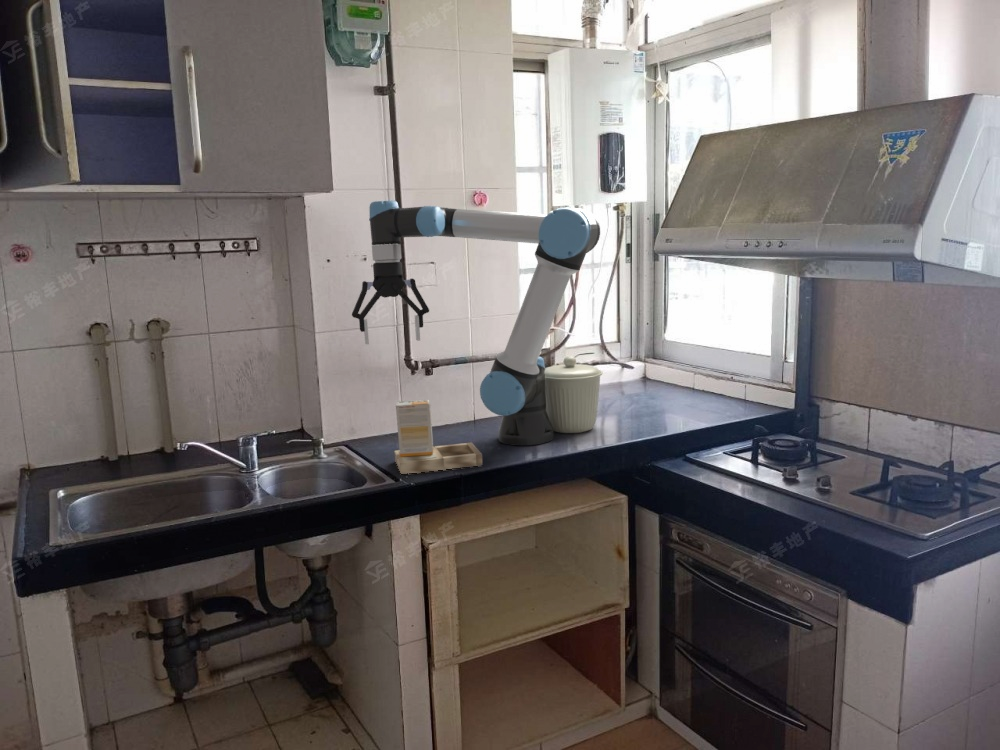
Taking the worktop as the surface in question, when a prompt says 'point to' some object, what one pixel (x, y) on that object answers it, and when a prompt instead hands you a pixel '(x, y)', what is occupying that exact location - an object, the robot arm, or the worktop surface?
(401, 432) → the supplement box
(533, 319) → the robot arm
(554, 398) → the canister
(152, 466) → the worktop surface
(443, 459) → the board
